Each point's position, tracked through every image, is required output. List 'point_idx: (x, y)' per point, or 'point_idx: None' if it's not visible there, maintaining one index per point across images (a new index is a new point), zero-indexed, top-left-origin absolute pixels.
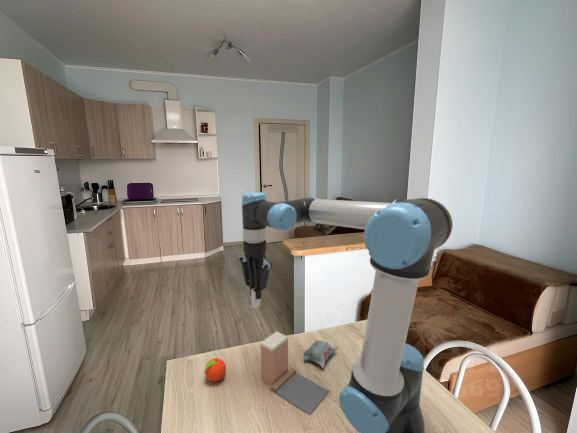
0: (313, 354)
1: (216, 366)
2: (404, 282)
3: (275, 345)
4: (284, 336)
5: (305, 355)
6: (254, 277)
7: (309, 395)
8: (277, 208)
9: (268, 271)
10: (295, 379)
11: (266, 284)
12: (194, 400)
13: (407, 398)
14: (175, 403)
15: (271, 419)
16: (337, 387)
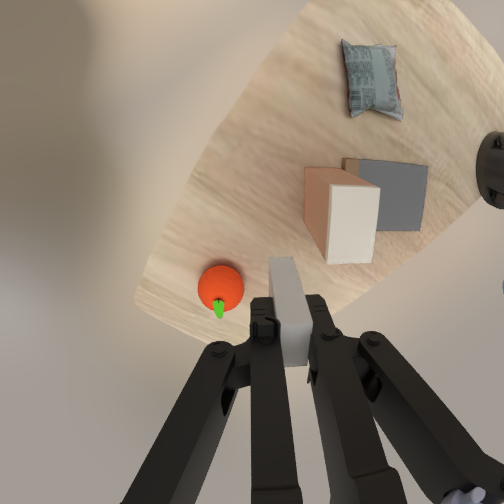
0: (377, 105)
1: (232, 304)
2: None
3: (371, 246)
4: (371, 193)
5: (356, 110)
6: (323, 447)
7: (406, 198)
8: None
9: (469, 448)
10: (366, 178)
11: (398, 355)
12: (239, 325)
13: None
14: None
15: (372, 273)
16: (433, 147)
